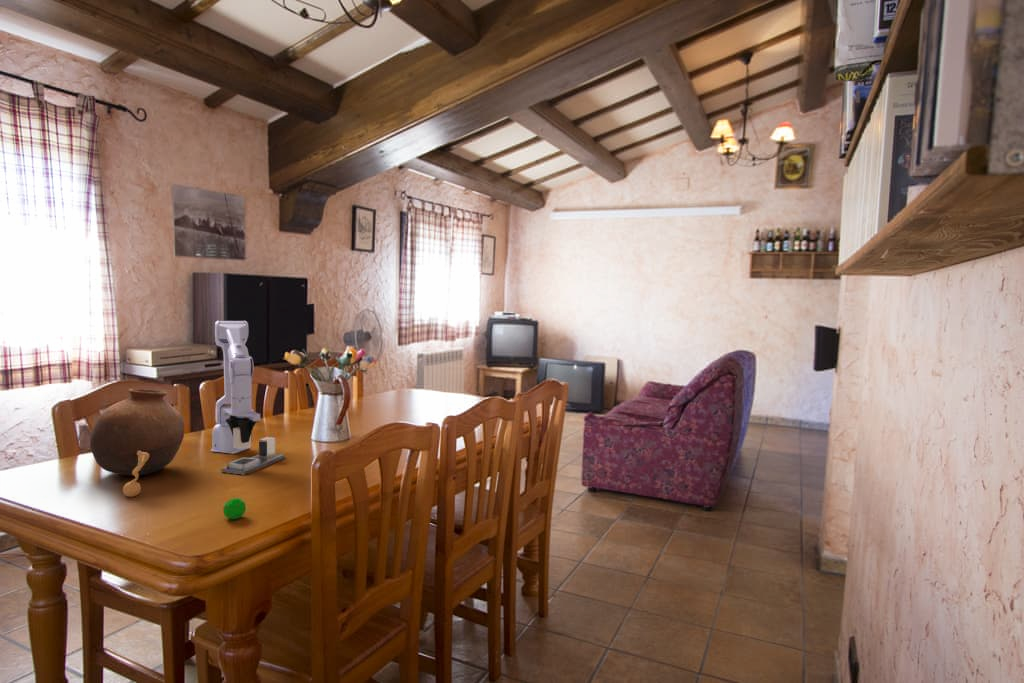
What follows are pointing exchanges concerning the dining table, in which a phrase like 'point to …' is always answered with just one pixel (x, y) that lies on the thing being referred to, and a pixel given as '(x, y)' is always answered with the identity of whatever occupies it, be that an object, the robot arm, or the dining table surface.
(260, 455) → the grey divided tray
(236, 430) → the block
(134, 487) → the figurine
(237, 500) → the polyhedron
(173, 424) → the pottery
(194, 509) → the dining table surface
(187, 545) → the dining table surface
